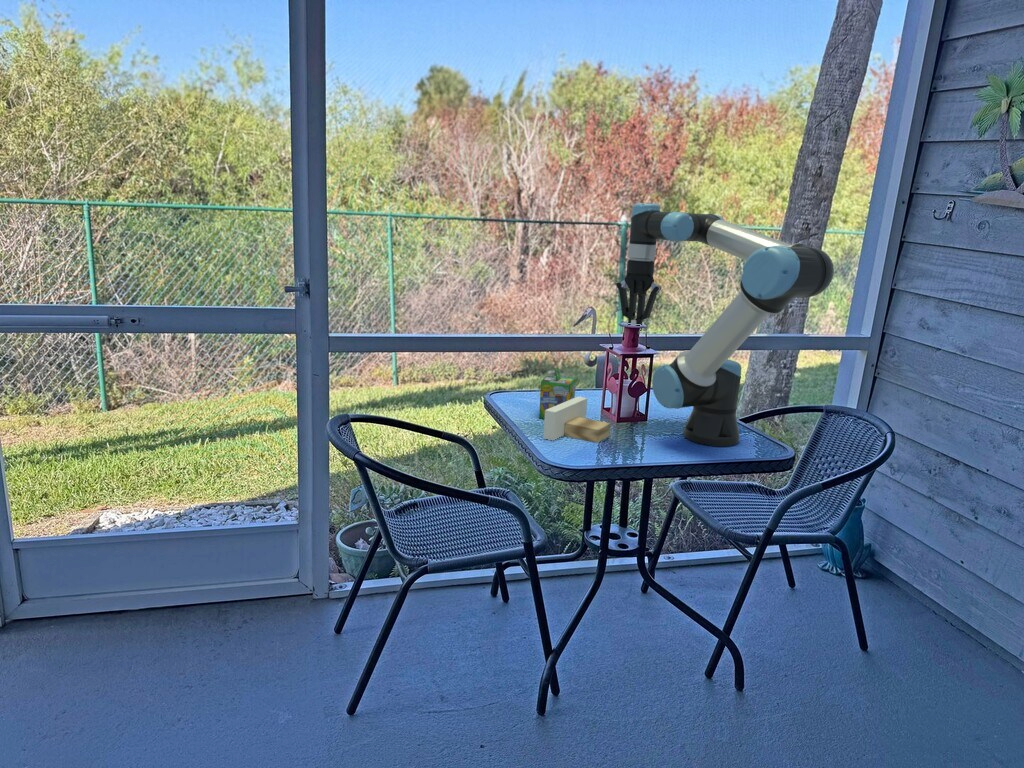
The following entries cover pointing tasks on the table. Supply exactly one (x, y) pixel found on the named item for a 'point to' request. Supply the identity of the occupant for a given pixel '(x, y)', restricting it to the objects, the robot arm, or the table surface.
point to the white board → (563, 416)
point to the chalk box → (555, 391)
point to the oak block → (587, 429)
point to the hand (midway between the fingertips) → (633, 342)
